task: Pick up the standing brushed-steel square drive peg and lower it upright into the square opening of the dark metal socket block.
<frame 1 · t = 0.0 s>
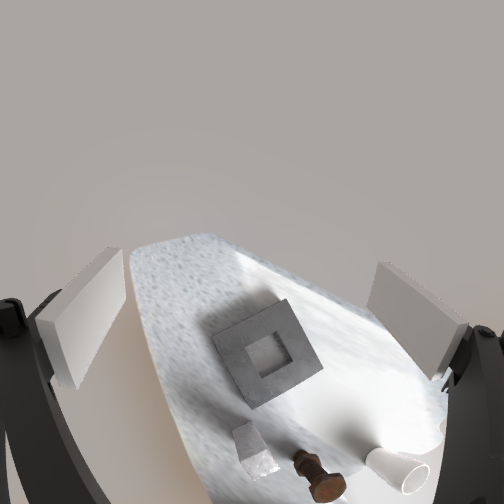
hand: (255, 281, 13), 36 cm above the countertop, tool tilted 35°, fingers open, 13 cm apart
drinking glass: (374, 457, 42), on the countertop
socket block: (265, 353, 47), on the countertop
bolt: (299, 456, 41), on the countertop
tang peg: (247, 434, 42), on the countertop
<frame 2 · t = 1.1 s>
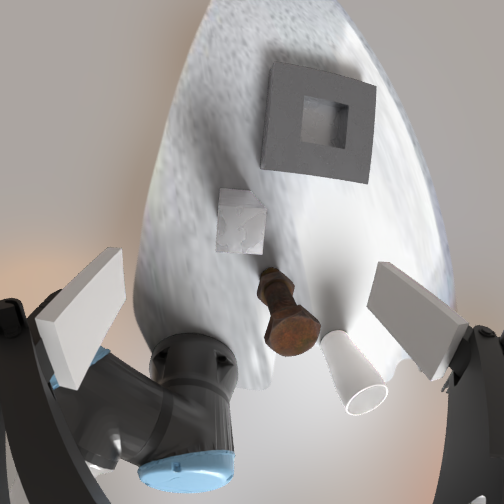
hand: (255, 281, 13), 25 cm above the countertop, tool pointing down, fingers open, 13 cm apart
drinking glass: (333, 340, 46), on the countertop
socket block: (316, 125, 34), on the countertop
bolt: (269, 275, 41), on the countertop
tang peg: (233, 204, 37), on the countertop
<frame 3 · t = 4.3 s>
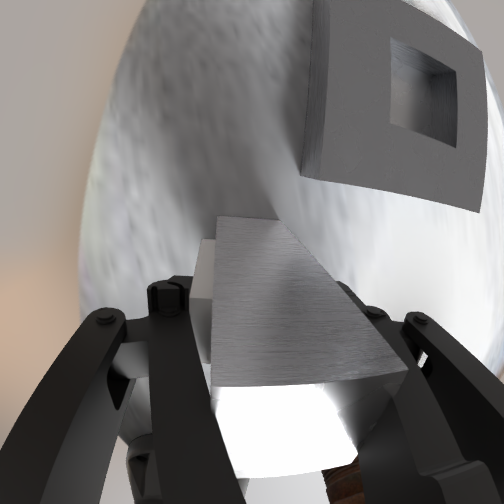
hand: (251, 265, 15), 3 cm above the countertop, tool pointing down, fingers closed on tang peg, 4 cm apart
socket block: (398, 99, 16), on the countertop
bolt: (305, 362, 22), on the countertop
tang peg: (246, 247, 18), on the countertop, touching gripper
when the fingers open (5 cm above the countertop, at t = 10.2 s): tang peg drops 1 cm, resting on socket block.
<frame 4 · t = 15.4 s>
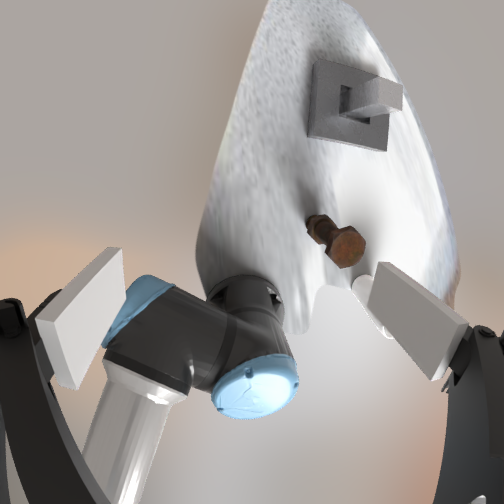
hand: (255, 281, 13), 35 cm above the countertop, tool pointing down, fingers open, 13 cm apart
drinking glass: (361, 284, 55), on the countertop
socket block: (347, 107, 43), on the countertop
bolt: (313, 222, 49), on the countertop
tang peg: (348, 107, 42), resting on socket block
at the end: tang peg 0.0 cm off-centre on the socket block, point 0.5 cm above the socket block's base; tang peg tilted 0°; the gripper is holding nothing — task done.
